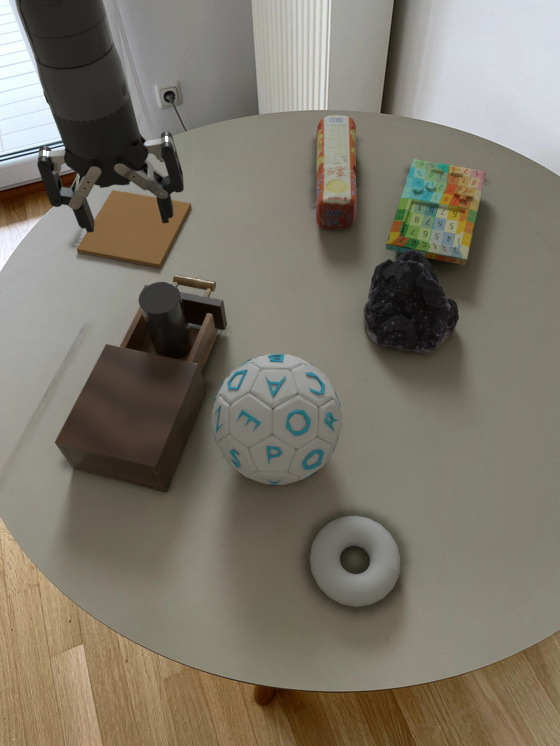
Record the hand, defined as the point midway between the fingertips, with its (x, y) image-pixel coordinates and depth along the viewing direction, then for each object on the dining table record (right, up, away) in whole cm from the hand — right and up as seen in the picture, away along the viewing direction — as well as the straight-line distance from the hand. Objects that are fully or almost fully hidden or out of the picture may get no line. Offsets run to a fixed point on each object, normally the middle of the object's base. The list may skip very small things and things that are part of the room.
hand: (128, 222), depth 74 cm
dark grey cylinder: (+3, -13, +14) cm, 20 cm away
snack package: (+27, +14, +34) cm, 45 cm away
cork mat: (-6, +6, +30) cm, 31 cm away
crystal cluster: (+35, -10, +18) cm, 41 cm away
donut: (+26, -39, -1) cm, 47 cm away
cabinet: (0, -25, +10) cm, 26 cm away
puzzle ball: (+17, -27, +8) cm, 33 cm away
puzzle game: (+42, +6, +28) cm, 51 cm away
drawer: (+3, -13, +16) cm, 21 cm away
